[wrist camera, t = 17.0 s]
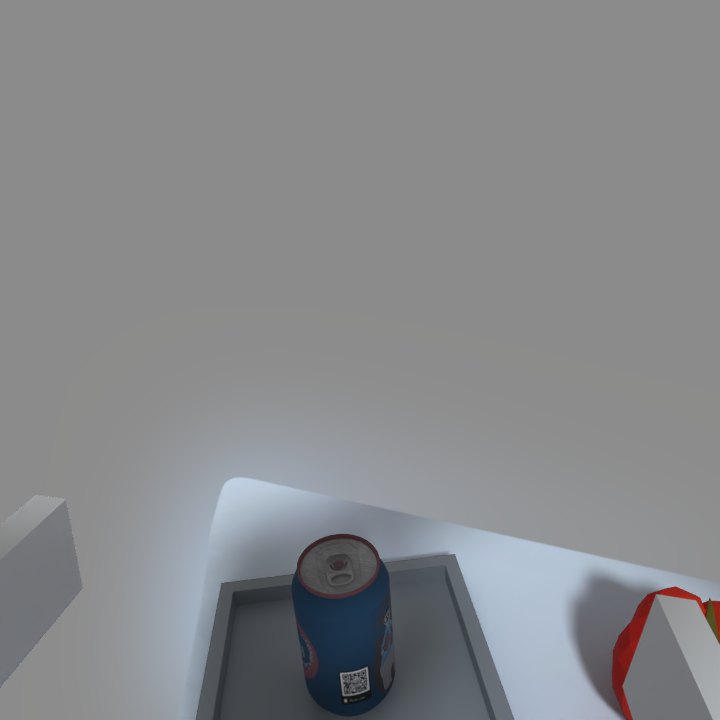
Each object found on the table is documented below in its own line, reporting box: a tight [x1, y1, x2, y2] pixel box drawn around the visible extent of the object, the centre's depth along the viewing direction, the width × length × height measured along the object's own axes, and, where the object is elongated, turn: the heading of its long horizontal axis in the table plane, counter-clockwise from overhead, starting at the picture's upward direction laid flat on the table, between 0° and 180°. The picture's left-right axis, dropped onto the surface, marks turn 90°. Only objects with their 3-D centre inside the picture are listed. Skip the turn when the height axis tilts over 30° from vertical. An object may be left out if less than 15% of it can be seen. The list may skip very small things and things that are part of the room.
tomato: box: [612, 587, 720, 720], centre depth 36 cm, size 11×12×9 cm
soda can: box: [291, 534, 395, 717], centre depth 39 cm, size 7×7×12 cm
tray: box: [196, 554, 514, 720], centre depth 41 cm, size 22×20×2 cm
